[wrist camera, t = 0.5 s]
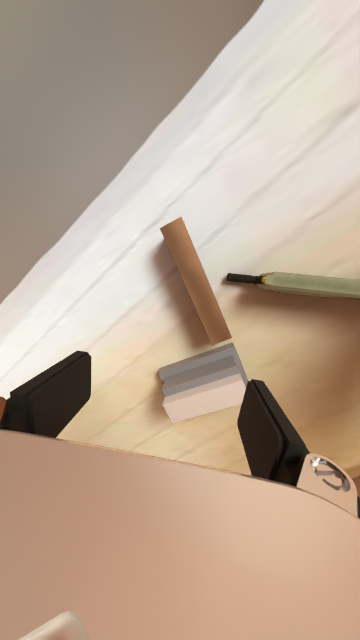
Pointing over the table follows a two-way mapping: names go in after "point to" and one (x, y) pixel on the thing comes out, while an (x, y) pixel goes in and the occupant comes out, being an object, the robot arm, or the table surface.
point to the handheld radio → (302, 284)
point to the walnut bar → (195, 280)
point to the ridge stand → (203, 383)
